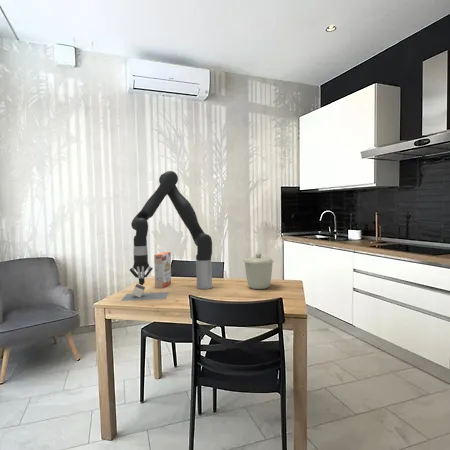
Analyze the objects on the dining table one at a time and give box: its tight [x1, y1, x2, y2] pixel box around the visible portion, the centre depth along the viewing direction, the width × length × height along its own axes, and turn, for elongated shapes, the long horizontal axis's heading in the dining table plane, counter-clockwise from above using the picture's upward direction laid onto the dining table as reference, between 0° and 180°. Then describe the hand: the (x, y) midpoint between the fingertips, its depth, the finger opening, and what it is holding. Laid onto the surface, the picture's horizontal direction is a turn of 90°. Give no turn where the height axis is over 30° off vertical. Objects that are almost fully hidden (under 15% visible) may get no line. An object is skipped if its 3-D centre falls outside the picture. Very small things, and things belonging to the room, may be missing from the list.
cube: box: [131, 283, 146, 297], centre depth 184 cm, size 5×5×5 cm
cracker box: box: [153, 251, 172, 289], centre depth 209 cm, size 14×6×21 cm, turn 168°
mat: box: [120, 291, 169, 302], centre depth 184 cm, size 24×14×1 cm, turn 94°
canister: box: [243, 252, 275, 290], centre depth 199 cm, size 18×18×21 cm
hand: (141, 284), depth 183 cm, fingers closed
